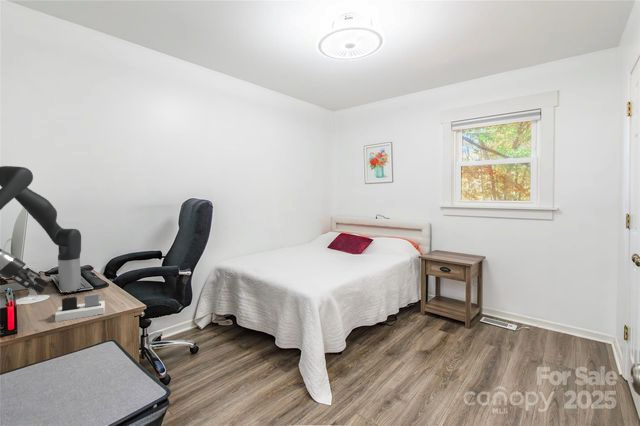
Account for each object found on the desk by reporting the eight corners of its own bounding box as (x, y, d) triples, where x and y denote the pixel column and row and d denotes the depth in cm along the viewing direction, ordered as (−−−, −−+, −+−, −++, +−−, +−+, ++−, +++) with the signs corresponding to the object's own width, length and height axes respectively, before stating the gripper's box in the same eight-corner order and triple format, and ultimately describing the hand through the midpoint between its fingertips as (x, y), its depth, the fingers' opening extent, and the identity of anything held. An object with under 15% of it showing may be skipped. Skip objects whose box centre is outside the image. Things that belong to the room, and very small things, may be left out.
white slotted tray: (59, 313, 140) (58, 295, 139) (105, 306, 148) (104, 290, 148) (55, 321, 131) (54, 303, 130) (103, 314, 140) (103, 296, 139)
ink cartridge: (77, 313, 140) (77, 296, 139) (76, 315, 138) (76, 297, 137) (63, 315, 137) (62, 297, 137) (62, 317, 135) (61, 299, 135)
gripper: (9, 260, 121) (49, 285, 128) (19, 253, 133) (56, 277, 140) (-10, 276, 118) (33, 300, 125) (2, 267, 130) (40, 290, 137)
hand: (45, 288), depth 132 cm, fingers open, 8 cm apart
